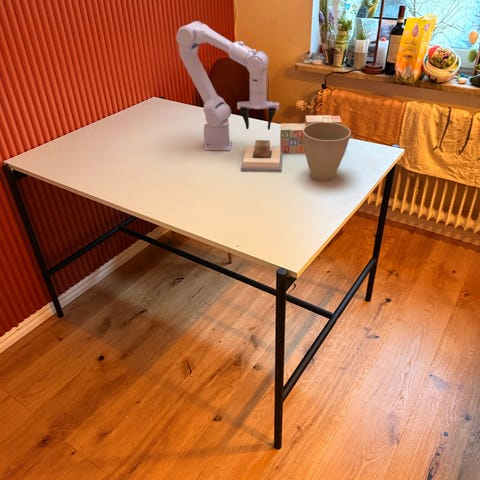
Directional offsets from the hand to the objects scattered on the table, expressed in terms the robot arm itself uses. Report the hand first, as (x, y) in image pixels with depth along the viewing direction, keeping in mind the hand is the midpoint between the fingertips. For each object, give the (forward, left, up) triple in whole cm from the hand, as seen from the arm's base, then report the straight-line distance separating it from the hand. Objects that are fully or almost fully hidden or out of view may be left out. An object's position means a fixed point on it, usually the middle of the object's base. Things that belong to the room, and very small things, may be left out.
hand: (258, 128), depth 162 cm
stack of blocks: (+19, +3, -10) cm, 21 cm away
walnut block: (+2, -8, -8) cm, 12 cm away
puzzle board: (+2, -9, -9) cm, 13 cm away
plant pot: (+23, -18, -10) cm, 30 cm away
